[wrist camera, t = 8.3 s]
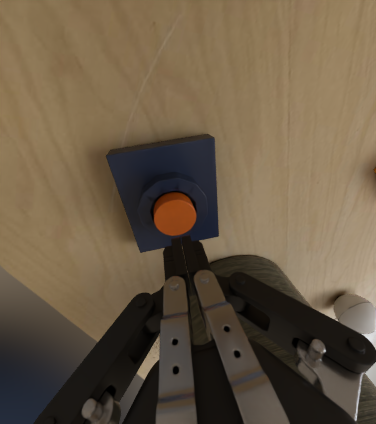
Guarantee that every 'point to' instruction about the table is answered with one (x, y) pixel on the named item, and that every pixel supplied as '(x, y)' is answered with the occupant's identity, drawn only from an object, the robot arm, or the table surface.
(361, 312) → the seamed sphere
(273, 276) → the planter
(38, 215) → the table surface
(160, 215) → the orange button
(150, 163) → the blue housing
